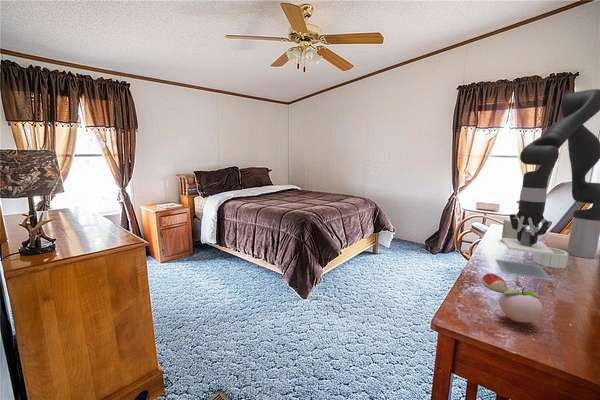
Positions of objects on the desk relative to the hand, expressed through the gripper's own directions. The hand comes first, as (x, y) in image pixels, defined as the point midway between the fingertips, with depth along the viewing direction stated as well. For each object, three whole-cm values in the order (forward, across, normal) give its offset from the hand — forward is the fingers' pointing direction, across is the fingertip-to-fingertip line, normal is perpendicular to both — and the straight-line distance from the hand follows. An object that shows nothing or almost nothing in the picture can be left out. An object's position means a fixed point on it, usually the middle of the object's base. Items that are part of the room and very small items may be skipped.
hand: (526, 242), depth 105 cm
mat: (+11, 0, 0) cm, 11 cm away
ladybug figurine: (+12, -6, +23) cm, 27 cm away
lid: (+2, 0, 0) cm, 2 cm away
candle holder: (+12, +30, -45) cm, 55 cm away
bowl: (+12, +1, -17) cm, 21 cm away
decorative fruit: (+11, -23, +38) cm, 46 cm away
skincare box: (+12, +25, -29) cm, 40 cm away
